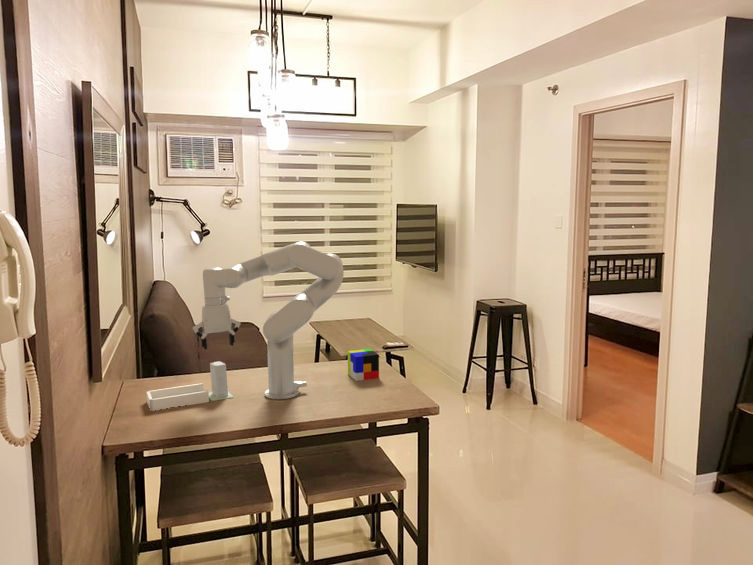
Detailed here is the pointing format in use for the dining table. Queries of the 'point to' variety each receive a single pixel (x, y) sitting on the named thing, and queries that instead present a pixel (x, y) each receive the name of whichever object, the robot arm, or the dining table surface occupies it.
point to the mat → (214, 398)
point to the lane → (176, 396)
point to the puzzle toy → (363, 364)
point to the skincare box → (219, 379)
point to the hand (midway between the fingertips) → (218, 346)
